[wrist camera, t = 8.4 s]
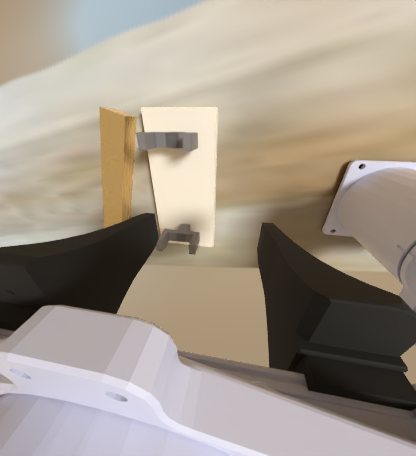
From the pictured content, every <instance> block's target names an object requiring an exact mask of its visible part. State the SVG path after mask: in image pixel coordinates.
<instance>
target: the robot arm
mask: <svg viewBox="0 0 416 456" xmlns="http://www.w3.org/2000/svg"><path fill="white" fill-rule="evenodd" d="M361 164H363V166H362V167H361V168H359V165H361ZM333 229H334V231H332V232H330V231H331V230H333ZM322 232H323V233H324V234H327V235H338V236H350V237H354V238H355V239H356V240H357V241H358V242H359V243H360V244H361V245H362V246H363V247H364V248H365V249H366V250H367V251H368V252H369V253H371V254H372V255H373V256H374V257H375V258H376V259H377V260H378V261H379V262H380V263H381V264H382V265H383V266H384V267H385V268H386V269H387V270H388V271H389V272H390V273H391V274H392V275H393V276H394V277H395V278H396V279H397V280H399V282H400V283H401V284H402V285H403V289H402V291H401V293H400V294H399V296H398V295H395V294H393V293H390V292H388V291H385V290H382V289H380V288H377V287H375V286H372V285H369V284H367V283H365V282H362V281H360V280H358V279H356V278H353V277H351V276H349V275H346V274H345V273H343V272H341V271H339V270H337V269H335V268H333V267H331V266H329V265H327V264H326V263H324V262H322V261H320V260H319V259H317V258H316V257H314V256H312V255H311V254H309V253H308V252H306V251H305V250H304V249H302V248H301V247H300V246H298V245H297V244H296V243H294V242H293V241H292V240H291V239H290V238H288V237H287V236H286V235H285V234H284V233H283V232H282V231H281V230H280V229H278V228H277V227H276V226H275V225H274V224H273V223H262V227H261V233H260V238H259V243H258V248H257V251H258V264H259V269H260V274H261V279H262V284H263V289H264V295H265V304H266V315H267V330H268V347H269V367H263V366H258V365H253V364H248V363H242V362H237V361H232V360H227V359H221V358H216V357H211V356H206V355H200V354H195V353H190V352H184V351H179V350H177V348H176V345H175V343H174V342H173V340H172V338H171V337H170V335H169V333H168V332H166V331H165V330H163V329H162V328H160V327H159V326H157V325H156V324H155V323H152V322H149V321H145V320H142V319H139V318H135V317H130V316H124V315H118V314H117V311H118V309H119V307H120V305H121V303H122V301H123V299H124V297H125V295H126V293H127V291H128V289H129V287H130V285H131V283H132V281H133V280H134V278H135V277H136V275H137V273H138V272H139V271H140V269H141V268H142V266H143V265H144V263H145V262H146V260H147V259H148V257H149V256H150V254H151V253H152V251H153V250H154V248H155V246H156V244H157V241H158V239H159V237H158V231H157V225H156V219H155V214H152V213H145V214H141V215H138V216H135V217H133V218H130V219H128V220H125V221H123V222H120V223H118V224H115V225H112V226H109V227H106V228H104V229H101V230H98V231H94V232H91V233H87V234H83V235H79V236H75V237H70V238H66V239H61V240H55V241H49V242H43V243H36V244H28V245H18V246H9V247H1V248H0V456H416V384H412V385H411V384H410V382H409V381H408V379H407V378H406V376H405V374H404V373H403V372H406V371H408V369H407V366H406V364H405V363H404V362H403V360H402V359H401V357H400V356H401V355H402V354H403V353H404V352H406V351H407V350H408V349H409V348H410V347H411V346H413V345H414V344H415V346H416V162H403V161H372V160H354V161H351V162H350V163H349V165H348V167H347V169H346V172H345V174H344V177H343V179H342V182H341V184H340V187H339V189H338V191H337V194H336V196H335V199H334V201H333V204H332V206H331V209H330V211H329V214H328V216H327V219H326V221H325V224H324V226H323V229H322ZM409 306H410V307H409Z"/></svg>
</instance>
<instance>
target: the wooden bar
mask: <svg viewBox="0 0 416 456" xmlns="http://www.w3.org/2000/svg"><path fill="white" fill-rule="evenodd" d="M136 119H137V117H135V116H132V115H130V114H127V113H124V112H121V111H118V110H116V109H111V108H104V107H100V131H101V159H102V186H103V213H104V228H106V227H109V226H112V225H115V224H118V223H120V222H123V221H125V220H128V219H130V216H131V200H132V184H133V168H134V151H135V135H136Z"/></svg>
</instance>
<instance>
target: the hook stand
mask: <svg viewBox="0 0 416 456" xmlns="http://www.w3.org/2000/svg"><path fill="white" fill-rule="evenodd" d="M141 112H142V119H143V125H144V131H145V132H140V133H136V135H137V140H138V146H139V150H147V151H148V157H149V163H150V170H151V176H152V182H153V189H154V195H155V202H156V208H157V214H158V221H159V227H160V233H161V235H160V236H159V239H158V241H157V244H156V246H157V250H159V251H163V249H164V248H165V246H166V244H167V243H177V244H187V245H189V254H194V255H195V253H196V250H197V247H198V246H206V247H213V244H214V228H215V197H216V166H217V135H218V108H217V107H141Z"/></svg>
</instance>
